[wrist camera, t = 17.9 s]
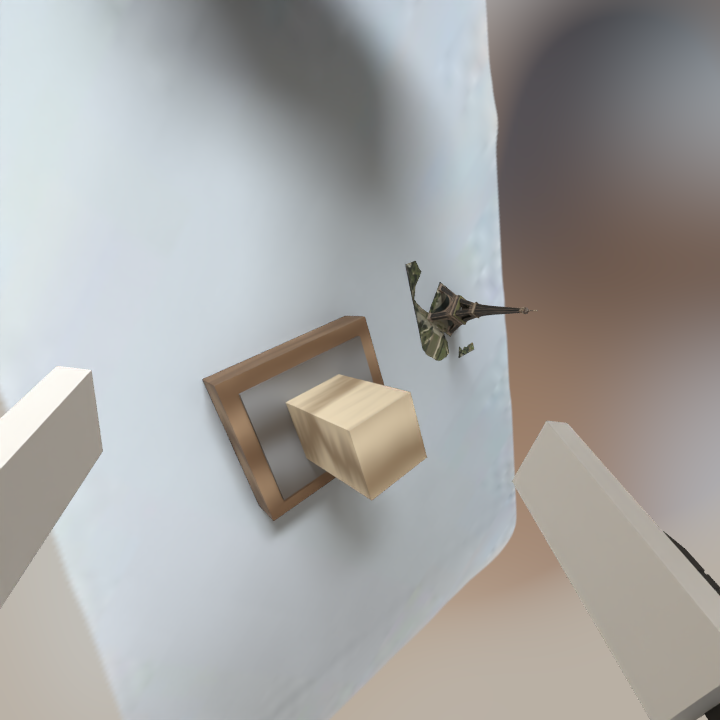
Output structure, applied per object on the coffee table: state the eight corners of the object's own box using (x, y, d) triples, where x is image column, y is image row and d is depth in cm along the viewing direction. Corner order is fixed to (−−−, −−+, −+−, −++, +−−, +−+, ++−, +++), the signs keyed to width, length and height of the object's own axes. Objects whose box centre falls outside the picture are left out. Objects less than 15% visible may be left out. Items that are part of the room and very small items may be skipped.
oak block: (285, 402, 34) (349, 431, 26) (338, 374, 37) (410, 392, 29) (306, 458, 36) (371, 500, 28) (355, 426, 39) (426, 457, 31)
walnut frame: (202, 379, 34) (215, 386, 31) (345, 315, 42) (367, 316, 39) (258, 505, 38) (275, 522, 35) (377, 425, 46) (400, 434, 43)
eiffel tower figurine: (400, 263, 47) (497, 250, 36) (454, 244, 52) (552, 227, 41) (424, 375, 51) (516, 394, 40) (472, 348, 56) (564, 357, 46)
